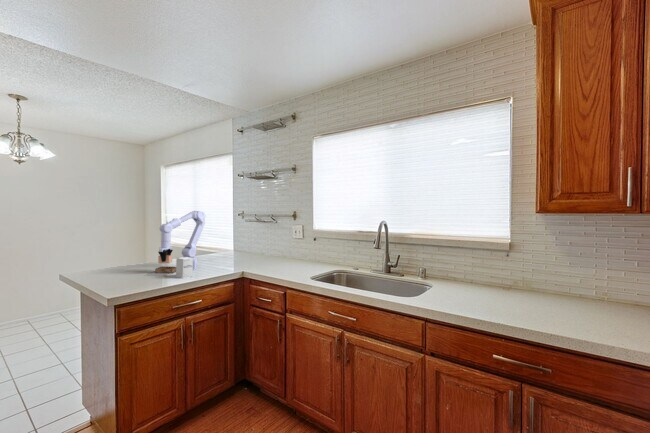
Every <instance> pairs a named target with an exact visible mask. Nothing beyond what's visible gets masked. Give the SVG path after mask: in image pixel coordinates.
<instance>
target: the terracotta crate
mask: <svg viewBox="0 0 650 433" xmlns="http://www.w3.org/2000/svg"><path fill="white" fill-rule="evenodd" d="M157 260H158V262H157V263H158V264H171V263H173V254H171V255H166V261H165V262H162V260H161V257H160V255H158V259H157Z"/></svg>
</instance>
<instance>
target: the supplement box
mask: <svg viewBox="0 0 650 433" xmlns="http://www.w3.org/2000/svg"><path fill="white" fill-rule="evenodd" d="M175 260H176V262H175V264H176V265H175V267H176V272H175V278H180V279H187V278H192V277H193V271H194V270H193V258H189V257H183V256H182V257H177V258H176V259H175Z"/></svg>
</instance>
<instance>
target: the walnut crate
mask: <svg viewBox="0 0 650 433" xmlns="http://www.w3.org/2000/svg"><path fill="white" fill-rule="evenodd" d="M154 271H155V273H167V274H168V275H171V274H174V273H175V274H176V266H169V265H168V266H163V265H162V266H160V267H157V268H155V270H154Z"/></svg>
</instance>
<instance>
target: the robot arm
mask: <svg viewBox="0 0 650 433" xmlns="http://www.w3.org/2000/svg"><path fill="white" fill-rule="evenodd" d="M206 217H207V216H206V214H205V211H204V210H192V211H189V212H188V213H187V214H185V215H182V216H181V217H180V218H176V217H175V218H172V220H170V221H167V222H166V223H162V224H161V225H160V227H159V231H160V232H161V234H160V247H159V248H158V251H157V253H158V255H159V256H160V257H161V260H162V262H165V261H166V255H172V253H173V251H174V250H173V246H172V245H171V239H172V238H171V235H172V234H171V233H172V231H173V230H175V229H176V228H178V227H180V226H181V224H182V223H184V222H186V221H188V220H190V219H192V220H193V221H194V222H195V224H196V225H195V227H194V229H193V232H192V234H191V236H190V238H189V241H188V243H187V244H185V245H184V248H182V250H181V255H182V258H183V257H189V258H193V271H195V270H198V269H199V267H198V264H199V263H198V262H199V261H198V258H197V257H195V256H196V255H197V250H198V249H197V244H198V242H199V238H200V237H201V234H202V233H203V229H204V227H205V224H206Z"/></svg>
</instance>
